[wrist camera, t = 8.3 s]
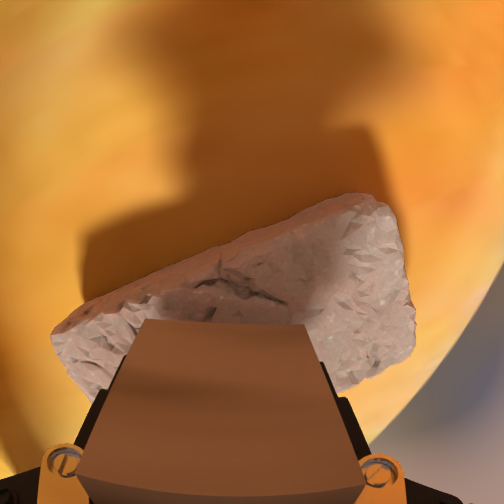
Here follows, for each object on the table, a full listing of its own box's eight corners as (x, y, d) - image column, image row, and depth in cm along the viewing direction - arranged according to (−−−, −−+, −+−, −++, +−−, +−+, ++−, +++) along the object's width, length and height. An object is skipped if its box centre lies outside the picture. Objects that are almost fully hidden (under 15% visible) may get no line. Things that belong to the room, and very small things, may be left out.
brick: (358, 180, 15) (402, 192, 11) (393, 315, 17) (431, 359, 13) (77, 298, 16) (38, 339, 12) (148, 403, 19) (133, 456, 14)
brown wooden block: (286, 429, 11) (311, 561, 5) (160, 425, 11) (134, 556, 5) (304, 324, 10) (366, 483, 4) (145, 318, 9) (74, 473, 4)
